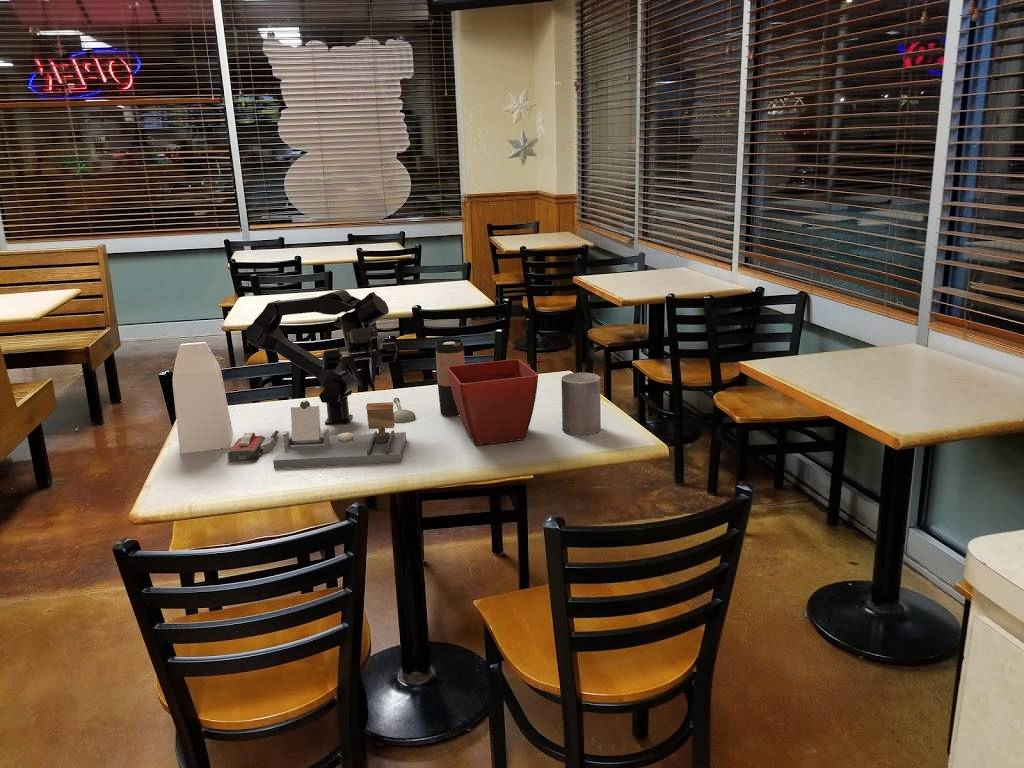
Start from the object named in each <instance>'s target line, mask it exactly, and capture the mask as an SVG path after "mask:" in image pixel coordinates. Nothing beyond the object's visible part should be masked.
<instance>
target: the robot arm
mask: <svg viewBox="0 0 1024 768" xmlns="http://www.w3.org/2000/svg"><path fill="white" fill-rule="evenodd" d="M310 313H318V314H322V315H330V316H335V315H339V314H342V313H343V314H342V315H341V316H337V318H336V319H335V320H334V322H333V326H335V327H337V328H339V329H340V330H341V331H342V334H343V339H344V344H345V347H346V351H341V352H340V349H339V348H333V349H325V350H323V352H322V359H321V358H319V357H317V356H316V355H314V354H312V353H311V352H309V351H308V350H306V349H304V348H303V347H301V346H300V345H298V344H297V343H295V342H293V341H292V340H290V339H289V338H287V337H286V336H285V335H284V333H283V331H282V330H281V328H280V327H279V326H280V324H281V323H282V320H283V316H289V315H298V314H310ZM389 313H390V311H389V307H388V304H387V302H386V301H385V300H383V298H382V297H381V296H379V295H377V294H376V293H375V291H372V292H370V293H368V294H367V295H366V296H365V297H364V298H362V299H360V298H357V297H355V296H353V295H351V293H349V292H348V291H347V290H345V289H338V290H334V291H331V292H327V293H325V294H322V295H319V296H313V297H311V296H310V297H303V298H294V299H286V300H285V299H283V300H279V299H277V300H274V301H271V302H268V303H267V304H266V306H265V307H264V308H263V311H262V312H260V313H259V315H257V317H256V318H255V319H254V320H253V322H252V324H250V325H248V326H247V327H246V329H245V337H246V341H247V342H248V343H249V344H250V345H252V346H254V347H256V348H260V349H261V350H267V351H272V352H275V353H276V354H278V355H280V356H281V357H283V358H285V359H286V360H287V361H289V362H291V363H292V364H293V365H295V366H297V367H298V368H300V369H302V370H304V371H305V372H306V373H308V374H310V375H311V376H313V377H314V378H316V379H317V380H318V381H319V383H320V385H321V387H322V388H324V389H323V390H322V391H321V393H319V395H318V397H319V399H320V401H321V403H325V404H326V411H327V412H326V413H327V418H326V420H325V422H324V424H325V425H337V424H349V423H350V422H351V420H352V419H353V414H351V413H350V411H349V409H350V408H349V399H348V397H349V396H351V395H352V393H353V390H354V389H355V388H356V386H357V385H358V386H360V387H361V386H362V380H361V377H360V373H359V371H358V369H357V366H356V361H359V360H368V359H369V366H368V367H369V372H370V373H369V374H370V379H371V382H372V383H371V384H373V385H374V384H375V383H376V375H377V374H376V373H377V368H378V367H380V366H382V363H383V364H389V363H395V362H396V361H397V357H398V356H397V355H398V352H399V348H398V344H397V343H396V342H393V341H391V342H384V343H380V346H379V349H371V348H372V340H373V339H377V338H378V337H379V331H378V327H377V324H375V323H376V322H378V321H379V320H381V319H382V318H384V317H386V315H388V314H389ZM365 324H367V325H368V326H367V327H365Z"/></svg>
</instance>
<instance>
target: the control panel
mask: <svg viewBox="0 0 1024 768" xmlns="http://www.w3.org/2000/svg"><path fill="white" fill-rule="evenodd" d="M322 433H323V435H321V437H324V444H310V445H290V444H289V439H292V437H290V432H289V430H287V431H284V432H283V433H282V439H283V446H282V447H281V449H280V450H279V451H278V453H277V454H276V455H275V457H274V458H273V460H272V463H273V469H286V468H285V467H294V468H307V467H306V466H314V467H328V466H327V465H334V466H349V465H348V464H354V465H367V464H366V463H374V464H390V463H392V462H393V463H401V461H400V460H402V456H403V454H404V450H405V446H406V442H407V432H406V431H403V432H401V431H399V432H395V430H391V432H389V440H388V442H382V443H376V435H377V433H378V431H377V430H376V431H374V432H373V433H361V434H353V433H352V432H343V433H339V434H337V435H330V432H329V429H327V428H326V429H325V428H324V431H323V432H322ZM402 453H403V454H402ZM393 463H392V464H393ZM345 464H347V465H345ZM323 465H324V466H323ZM325 465H326V466H325Z"/></svg>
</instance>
